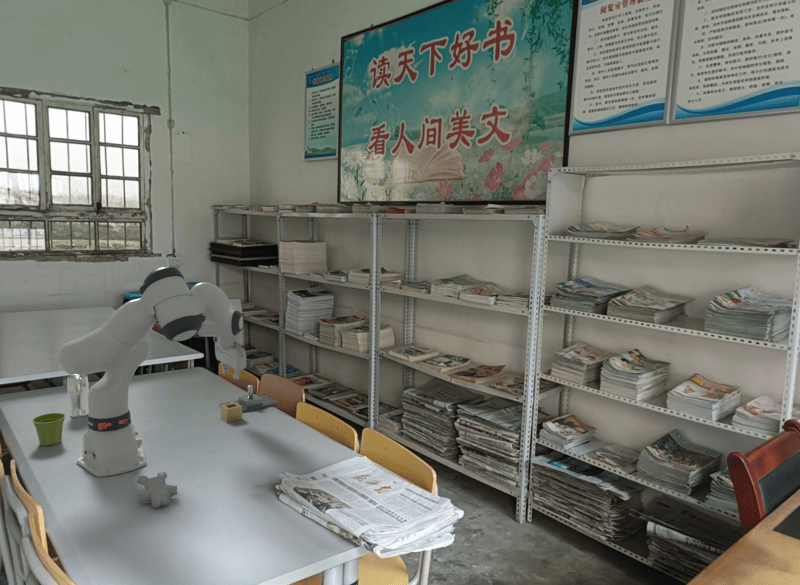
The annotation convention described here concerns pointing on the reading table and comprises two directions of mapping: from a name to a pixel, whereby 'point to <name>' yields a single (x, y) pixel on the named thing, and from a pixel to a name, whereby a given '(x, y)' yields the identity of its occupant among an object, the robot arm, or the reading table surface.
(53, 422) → the plant pot
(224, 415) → the tan square sleeve
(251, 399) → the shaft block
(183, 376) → the reading table surface
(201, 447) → the reading table surface
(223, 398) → the reading table surface
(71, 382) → the beer glass
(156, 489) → the grey chunky knobbed piece
